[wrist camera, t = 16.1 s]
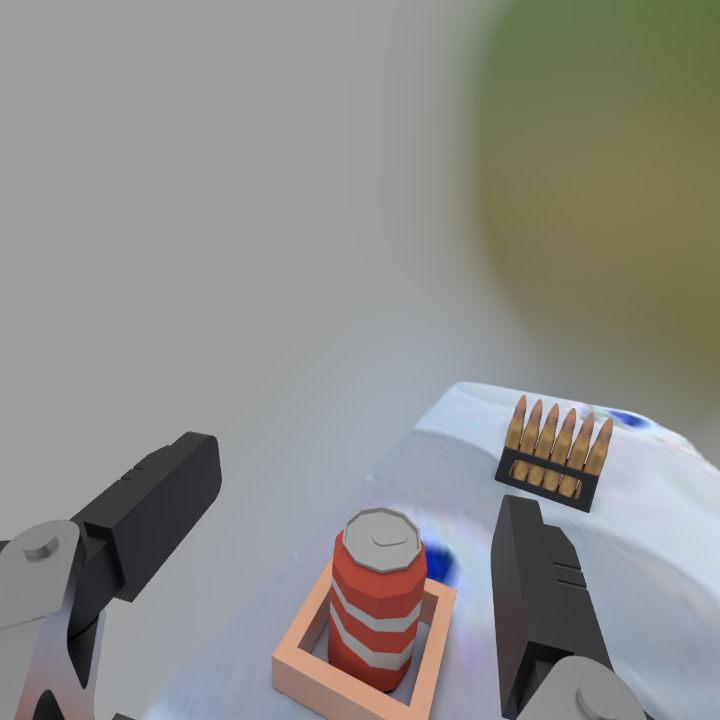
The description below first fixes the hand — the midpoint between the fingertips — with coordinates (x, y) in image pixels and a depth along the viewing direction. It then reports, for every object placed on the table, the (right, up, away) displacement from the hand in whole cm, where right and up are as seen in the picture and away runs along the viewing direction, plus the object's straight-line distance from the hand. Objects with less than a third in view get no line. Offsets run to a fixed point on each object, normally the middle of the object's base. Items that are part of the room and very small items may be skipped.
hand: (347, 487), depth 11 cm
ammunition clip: (+22, -13, +38) cm, 46 cm away
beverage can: (+1, -19, +19) cm, 27 cm away
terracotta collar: (+1, -19, +19) cm, 27 cm away
